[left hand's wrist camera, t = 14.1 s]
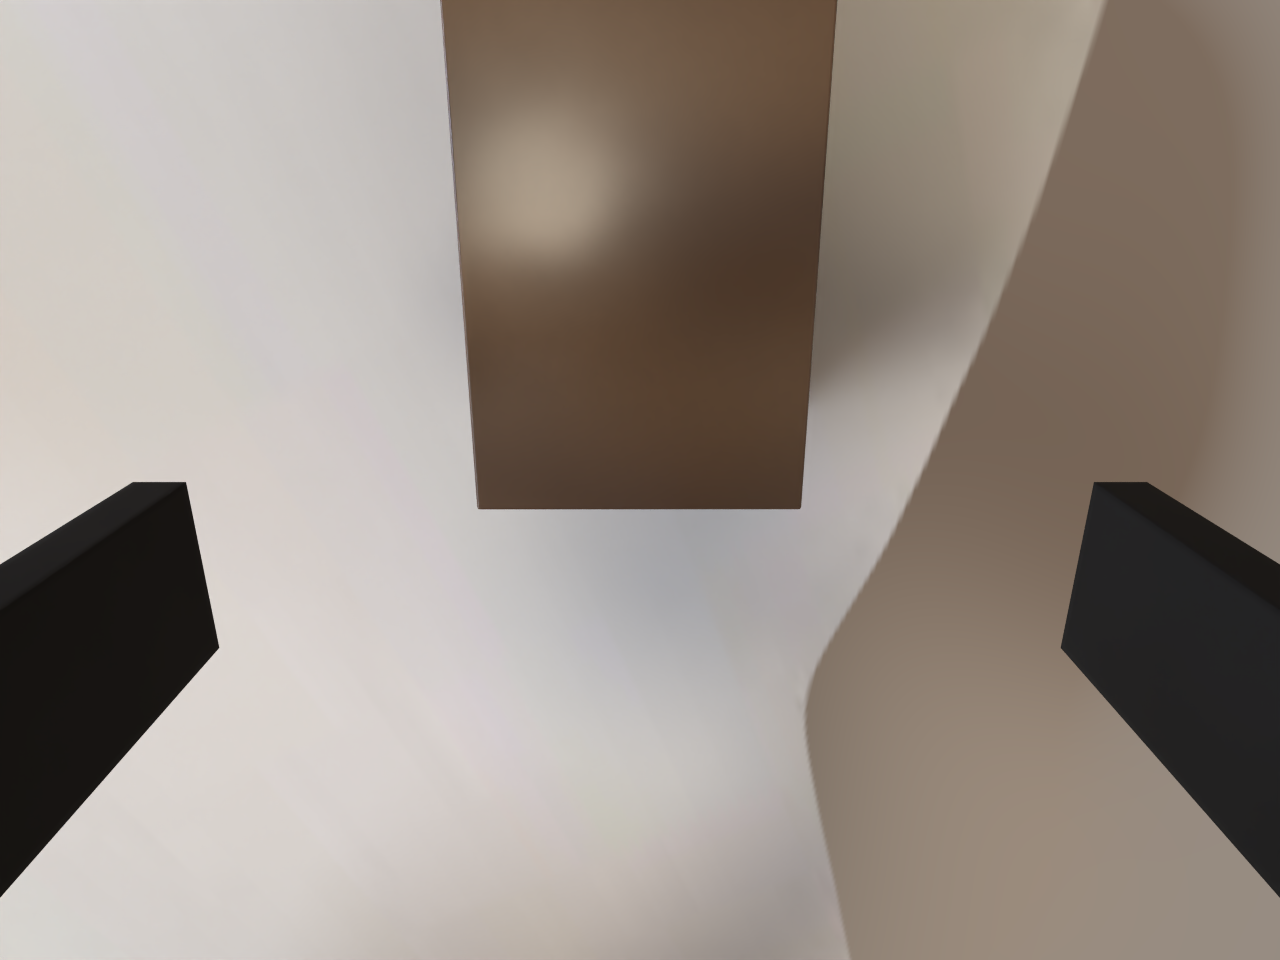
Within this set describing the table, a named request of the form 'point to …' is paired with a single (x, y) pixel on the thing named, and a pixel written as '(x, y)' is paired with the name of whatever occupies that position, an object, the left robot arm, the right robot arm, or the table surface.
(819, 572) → the table surface
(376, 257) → the table surface
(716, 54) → the brown rectangular box
